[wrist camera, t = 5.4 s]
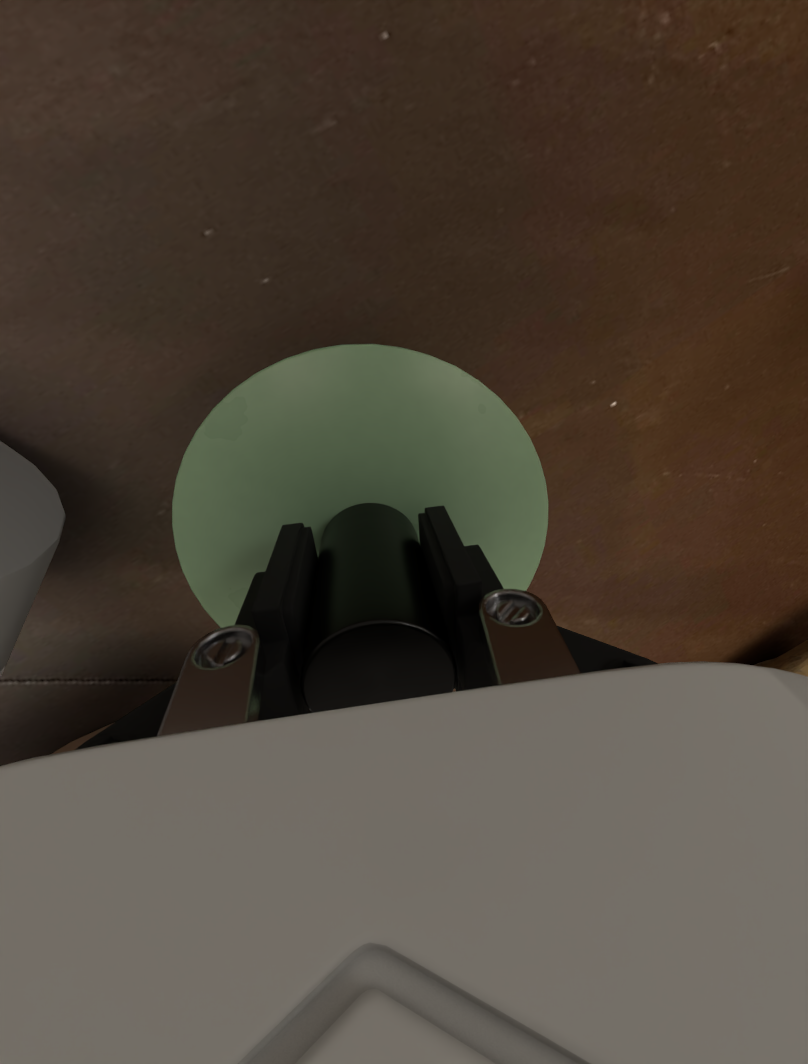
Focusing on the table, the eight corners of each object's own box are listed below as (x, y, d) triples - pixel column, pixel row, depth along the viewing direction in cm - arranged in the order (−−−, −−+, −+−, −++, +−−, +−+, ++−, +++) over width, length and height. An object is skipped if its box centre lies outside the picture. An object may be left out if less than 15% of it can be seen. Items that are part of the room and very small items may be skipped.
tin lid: (240, 679, 16) (174, 885, 10) (125, 364, 11) (-153, 409, 5) (525, 638, 17) (620, 809, 11) (547, 323, 11) (753, 321, 6)
